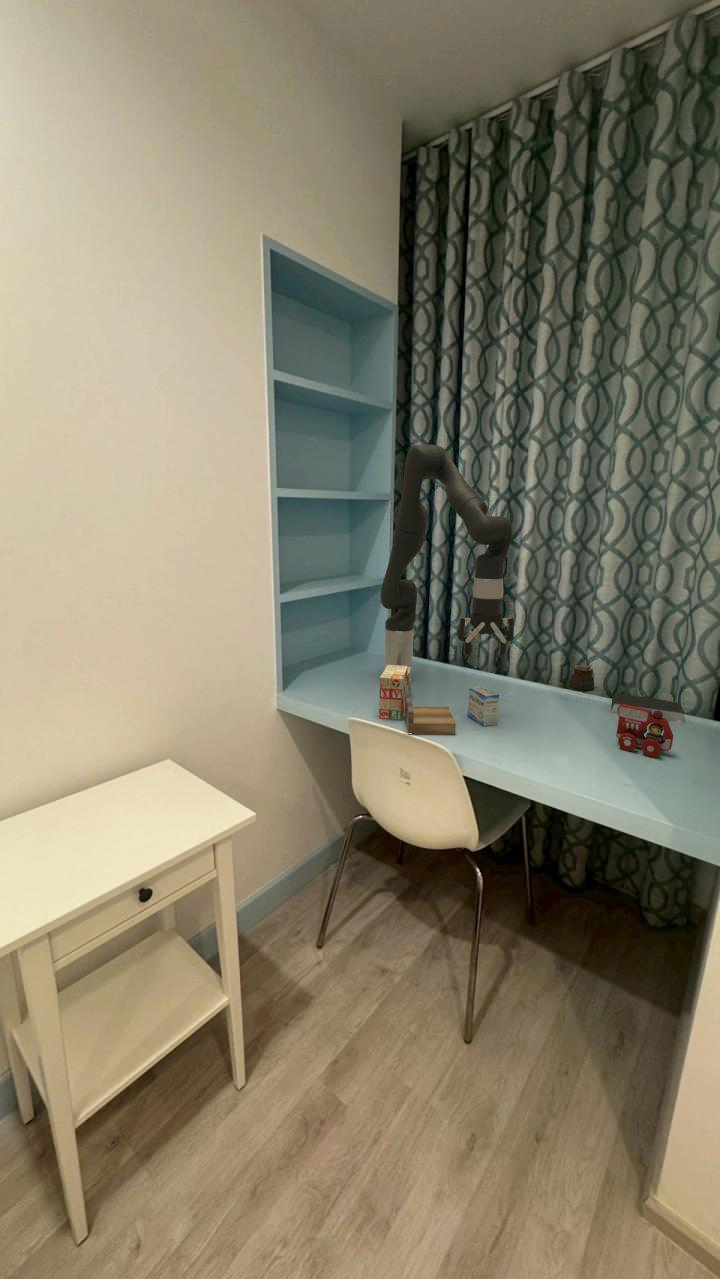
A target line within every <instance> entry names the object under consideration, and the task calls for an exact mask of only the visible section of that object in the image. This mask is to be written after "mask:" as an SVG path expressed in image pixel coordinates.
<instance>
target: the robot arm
mask: <svg viewBox="0 0 720 1279" xmlns="http://www.w3.org/2000/svg"><path fill="white" fill-rule="evenodd" d="M434 479H435V480H437V481H439V482H440V483H441V484H443V485H444V486H445V488H446V491H447V499H448V502H449V506H450V507H451V508H452V509H453V511H454V512H455V513H456V514H457V515H458V516H459V518H461V520H463V522H464V525H465V527H466V530H467V532H468V534H469V537H470V538H471V539H472V540H473V541H474V542H475V543H477V544H478V545H482V546H487V549H486V551H485V552H484V553H482V554H479V555H478V556H477V557H476V560H475V571H474V582H473V588H472V604H471V605H472V606H471V615H470V617H464V616H463V615H462V616H459V617H458V618H459V619H458V627H457V636H456V637H457V639H458V640H459V641H461V642H463V643H464V644H463V652H464V655H465V656H466V657H471V647H472V646H471V645H472V644H471V642H472V640H473V638H475V637H476V636H477V634H479V635H485V634H486V635H493V634H495V635H496V637H497V638H498V640H499V641H498V648H497V649H498V651H497V656H498V657H500V658H503V656H504V655H505V654H506V647H507V643H508V642H513V640H514V639H515V638H514V632H515V631H514V629H515V628H514V624H515V620H514V618H512V617H511V616H507V617H504V618H503V616H502V612H503V599H504V579H503V578H504V569H505V568H504V566H505V561H506V557H507V554H508V552H509V548H510V546H511V545H510V544H511V543H512V538H513V526H512V523H511V521H510V519H509V518H508V517H506V516H501V515H491V516H490V515H487V513H488V506H487V503H486V502H485V500H484V499H482V498H481V496H479V494H478V493H477V492H476V491H475V490H474V489H473V488H472V487H471V486H470V485H469V483H468V482H467V481H466V480H465V478H464V477H463V475H462V473H461V472H460V471H459V469H458V467H457V466H456V464H455V462H454V461H453V459H452V458H451V456H450V454H449V453H448V451H446V449H445V448H444V447H442V446H440V445H437V444H414V445H413V446H411V447H410V448H409V450H408V452H407V454H406V458H405V463H404V472H403V482H402V492H401V498H400V505H399V511H398V515H397V520H396V523H395V529H394V533H393V538H392V540H393V541H392V544H391V545H392V546H391V549H390V550H391V551H390V556H389V561H388V563H387V568H386V571H385V575H384V577H383V580H382V584H381V588H380V603H381V605H382V607H383V608H384V609H387V610H397V609H398V611H397V612H396V613H395V614H394V615H392V616H390V617H389V618H387V619H386V620H385V625H384V626H385V627H384V669H383V672H384V671H385V668H386V666H387V665H399V666H408V667H411V680H412V676H413V653H414V652H413V650H414V647H413V646H414V625H415V621H416V613H417V603H418V601H417V600H418V591H417V586H416V584H415V581H413V580H412V579H402V576H403V573H404V572H405V570H406V569H407V567H408V565H410V563H411V562H412V561H413V560H414V559H415V557H416V556H417V555H418V554H419V552H420V551H421V549H422V547H423V545H424V542H425V537H426V533H427V528H428V520H427V517H426V514H425V511H424V509H423V505H422V501H421V491H422V485H423V481H424V480H434ZM469 623H470V624H471V626H472V627H471V628H470V629H469V630H468V633H466V635H465V627H467V626H468V624H469ZM502 624H504V626H505V627H506V635H505V636H504V634H503V633H502V632H501V630H500V629H499V628H500V627H501V626H502Z"/></svg>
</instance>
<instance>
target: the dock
mask: <svg viewBox="0 0 720 1279" xmlns="http://www.w3.org/2000/svg"><path fill="white" fill-rule="evenodd" d="M404 720H405V725H406V730H407V734H408V733H412V734H411V735H415V734H416V735H415V736H417V735H418V736H419V735H423V736H424V735H427V736H428V735H430V736H431V735H433V736H435V735H436V736H441V735H442V736H455V735H456V724H457V723H456V722H455V719H454V717H453V714H452V712H451V710H450V708H449V707H448V706H447V707H446V706H441V707H440V706H413V705H412V700H411V697H408V696H405V712H404Z"/></svg>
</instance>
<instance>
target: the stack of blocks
mask: <svg viewBox="0 0 720 1279" xmlns="http://www.w3.org/2000/svg"><path fill="white" fill-rule="evenodd" d="M411 686H412V679H411V667H408V666H399V665H387V666H386V668H385V671H384V670H383V672H382V673H381V674H380V676H379V709H378V710H379V711H378V714H379V716H378V719H380V720H391V721H392V720H393V721H402V719H403V717H404V716H405V696H408V697H410V695H411V690H412V687H411ZM410 698H411V697H410Z"/></svg>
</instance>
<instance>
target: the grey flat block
mask: <svg viewBox="0 0 720 1279" xmlns="http://www.w3.org/2000/svg"><path fill="white" fill-rule="evenodd" d="M611 700H612V703H611V705H610V707H611V708H610V713H613V714H617V712H618V707H619V705H621V704H625V705H630V706H635V707H640V708H645V709H649V710H650V711H651V712H652V715H653V713H654V712H655V711H657V710H659V711H661V712H662V713H663V717H662V718H665V719H666V720H667V721H668V723H675V724H676V723H677V724H685V719H684V714H683V711H682V707H681V705H680V703H679V702H676V701H669V700H664V699H659V698H653V697H648V696H647V697H646V696H637V695H628V694H614V695H613V696H612V698H611ZM617 715H618V714H617Z"/></svg>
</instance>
